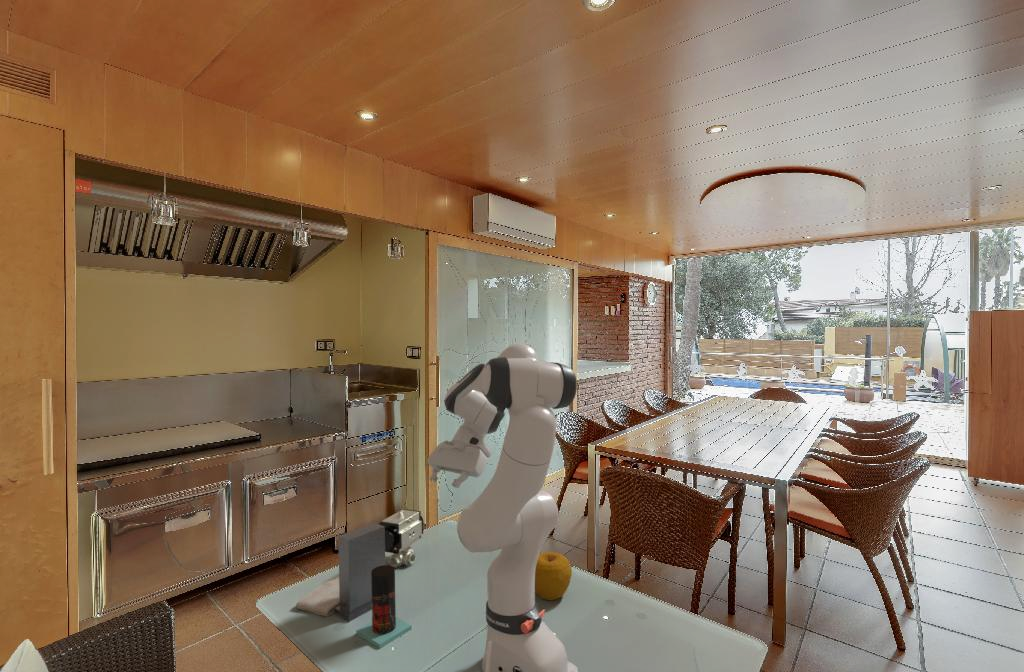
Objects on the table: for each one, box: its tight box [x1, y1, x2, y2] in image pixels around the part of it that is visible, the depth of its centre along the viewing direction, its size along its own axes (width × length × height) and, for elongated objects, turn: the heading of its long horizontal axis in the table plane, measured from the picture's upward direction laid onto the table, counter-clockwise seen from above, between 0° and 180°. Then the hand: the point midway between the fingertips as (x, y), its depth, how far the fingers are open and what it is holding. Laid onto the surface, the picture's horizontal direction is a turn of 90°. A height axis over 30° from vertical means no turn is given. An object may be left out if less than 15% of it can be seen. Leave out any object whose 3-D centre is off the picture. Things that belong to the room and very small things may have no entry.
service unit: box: [334, 522, 386, 623], centre depth 138 cm, size 7×14×22 cm, turn 142°
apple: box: [535, 551, 573, 601], centre depth 142 cm, size 13×13×11 cm
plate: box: [355, 616, 413, 649], centre depth 126 cm, size 10×10×1 cm
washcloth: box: [295, 575, 340, 617], centre depth 143 cm, size 12×18×3 cm, turn 158°
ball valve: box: [379, 508, 425, 569], centre depth 164 cm, size 18×8×18 cm, turn 157°
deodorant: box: [371, 564, 397, 635], centre depth 126 cm, size 6×6×15 cm
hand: (443, 483), depth 139 cm, fingers open, 8 cm apart
